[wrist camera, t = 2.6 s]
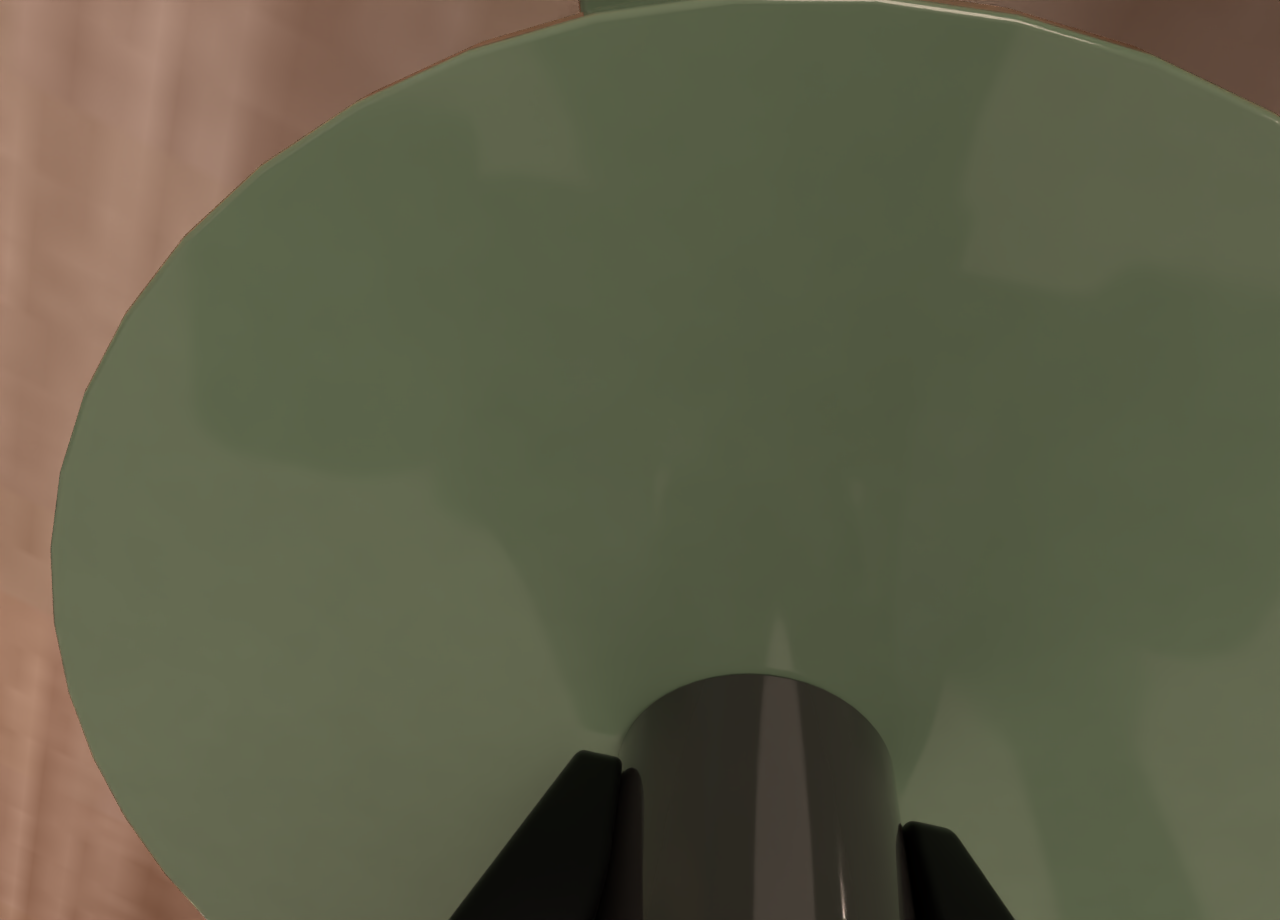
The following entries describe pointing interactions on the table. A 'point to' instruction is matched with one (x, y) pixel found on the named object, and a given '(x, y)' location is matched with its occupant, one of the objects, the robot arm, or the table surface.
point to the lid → (707, 479)
